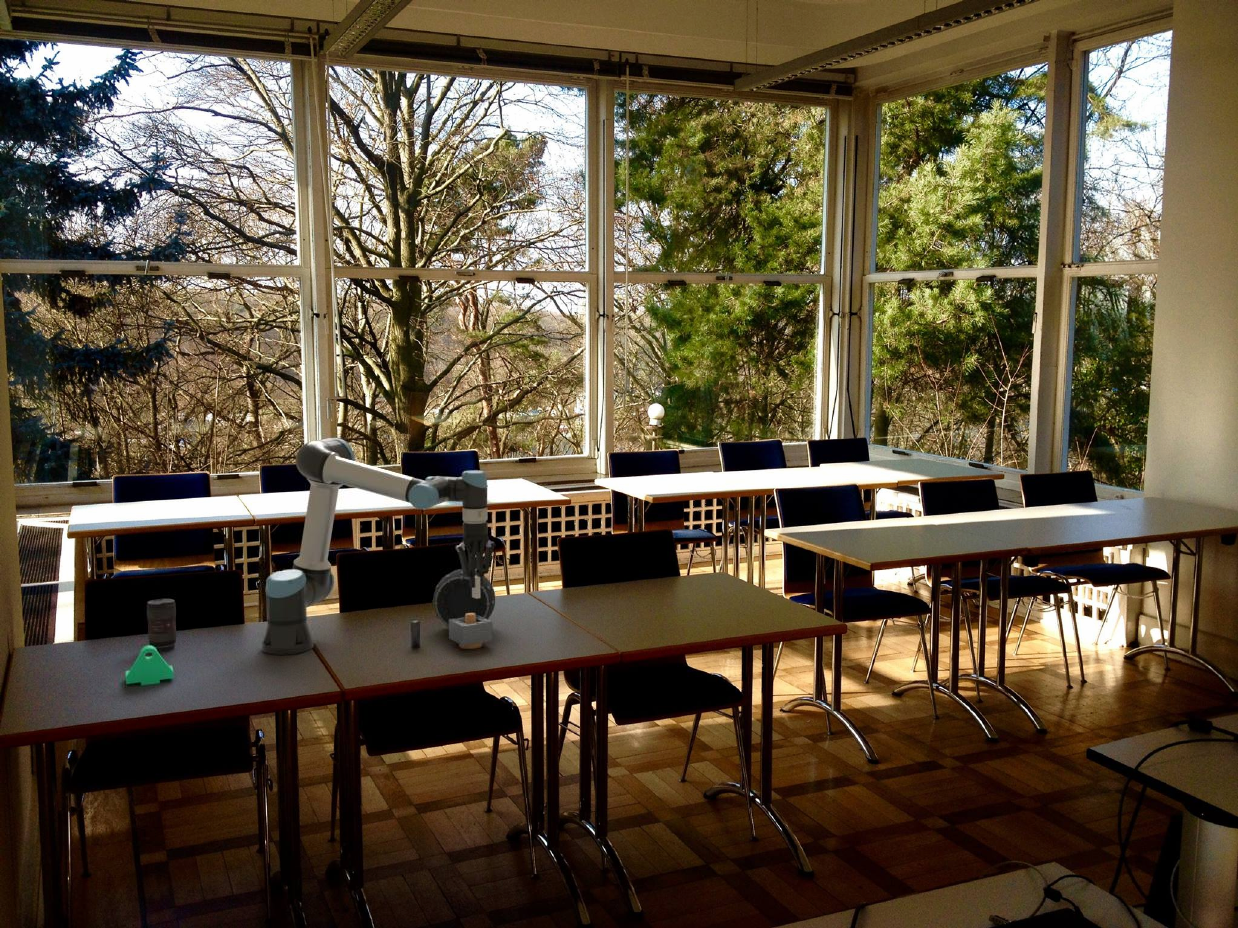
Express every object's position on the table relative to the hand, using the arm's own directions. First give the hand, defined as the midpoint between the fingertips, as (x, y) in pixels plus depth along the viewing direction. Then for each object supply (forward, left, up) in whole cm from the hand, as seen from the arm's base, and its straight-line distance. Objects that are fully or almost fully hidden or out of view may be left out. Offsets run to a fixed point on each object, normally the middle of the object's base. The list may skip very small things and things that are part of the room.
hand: (476, 597), depth 326 cm
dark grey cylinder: (-96, +7, -16) cm, 98 cm away
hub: (-2, +4, -16) cm, 17 cm away
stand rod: (-19, +4, -16) cm, 25 cm away
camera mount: (-89, -24, -17) cm, 94 cm away
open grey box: (-2, +4, -14) cm, 15 cm away
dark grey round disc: (-5, +23, -16) cm, 28 cm away
